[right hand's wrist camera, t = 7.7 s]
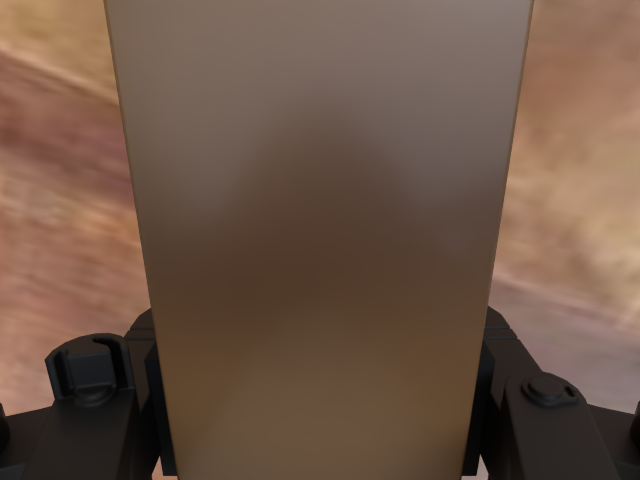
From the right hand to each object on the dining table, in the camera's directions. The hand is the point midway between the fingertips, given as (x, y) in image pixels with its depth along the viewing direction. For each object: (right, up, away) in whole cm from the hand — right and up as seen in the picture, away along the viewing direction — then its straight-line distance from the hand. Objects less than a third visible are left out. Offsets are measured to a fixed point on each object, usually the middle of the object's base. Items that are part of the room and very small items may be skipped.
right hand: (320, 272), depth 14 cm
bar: (0, +9, -3) cm, 10 cm away
